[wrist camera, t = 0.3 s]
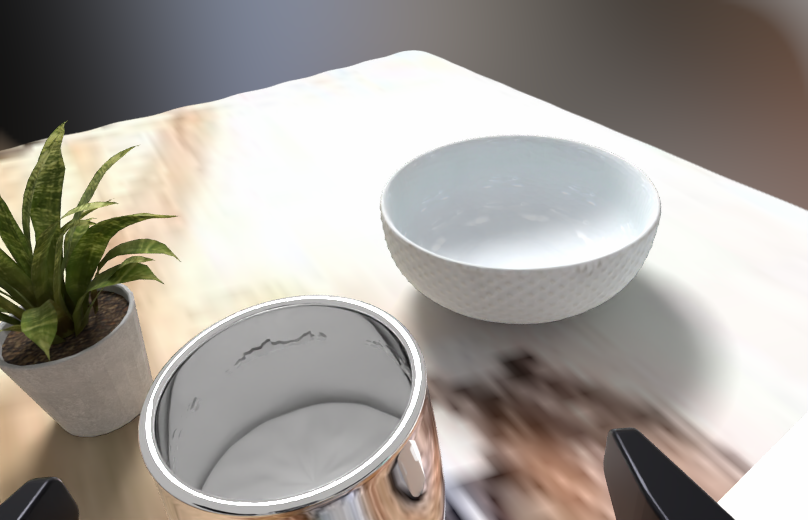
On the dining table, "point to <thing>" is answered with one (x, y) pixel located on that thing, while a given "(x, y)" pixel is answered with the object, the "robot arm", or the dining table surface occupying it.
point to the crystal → (774, 482)
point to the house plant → (73, 304)
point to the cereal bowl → (519, 226)
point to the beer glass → (296, 418)
